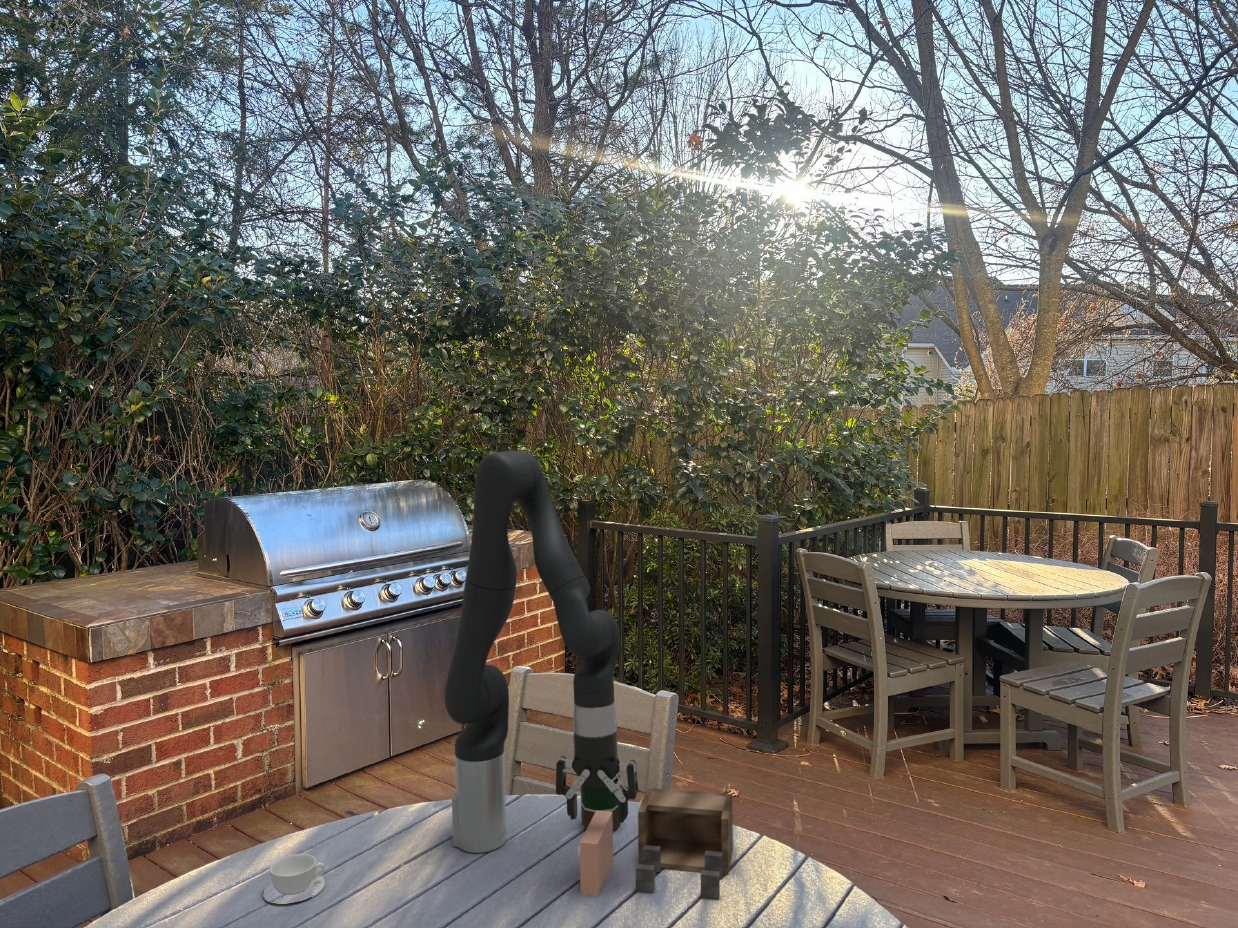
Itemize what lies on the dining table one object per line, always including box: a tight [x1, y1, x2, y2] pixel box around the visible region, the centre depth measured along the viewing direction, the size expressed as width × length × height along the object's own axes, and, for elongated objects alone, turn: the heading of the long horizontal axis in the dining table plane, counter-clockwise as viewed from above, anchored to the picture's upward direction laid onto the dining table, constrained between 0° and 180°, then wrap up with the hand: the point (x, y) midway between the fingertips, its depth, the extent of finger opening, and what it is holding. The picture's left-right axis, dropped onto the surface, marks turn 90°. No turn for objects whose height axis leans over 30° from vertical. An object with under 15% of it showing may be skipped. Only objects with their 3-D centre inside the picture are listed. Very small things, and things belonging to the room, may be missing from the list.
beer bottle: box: [580, 769, 621, 832], centre depth 166 cm, size 8×8×24 cm
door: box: [577, 810, 614, 896], centre depth 148 cm, size 12×4×9 cm, turn 168°
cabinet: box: [635, 787, 734, 901], centre depth 151 cm, size 16×18×10 cm
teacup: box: [269, 853, 326, 898], centre depth 145 cm, size 10×10×5 cm
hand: (597, 819), depth 148 cm, fingers open, 8 cm apart
